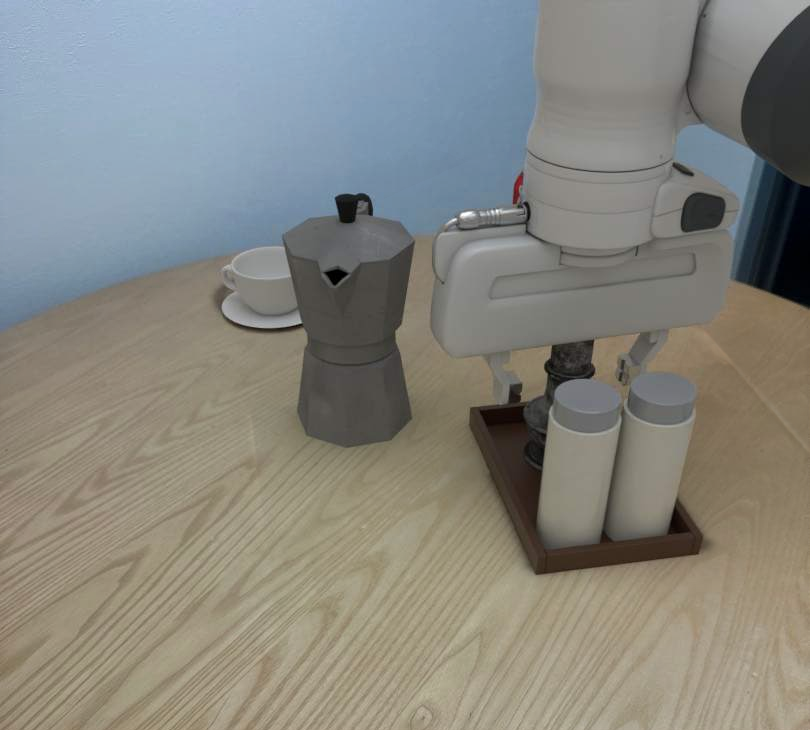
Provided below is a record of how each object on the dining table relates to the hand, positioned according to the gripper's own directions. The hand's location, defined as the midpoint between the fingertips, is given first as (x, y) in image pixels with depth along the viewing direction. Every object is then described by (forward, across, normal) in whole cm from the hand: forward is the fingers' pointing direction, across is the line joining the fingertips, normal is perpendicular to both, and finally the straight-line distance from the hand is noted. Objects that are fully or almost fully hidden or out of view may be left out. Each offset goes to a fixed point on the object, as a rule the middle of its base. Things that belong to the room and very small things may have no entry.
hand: (568, 390), depth 67 cm
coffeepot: (+6, -13, +11) cm, 18 cm away
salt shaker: (+6, 0, 0) cm, 6 cm away
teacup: (+6, -16, +31) cm, 36 cm away
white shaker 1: (+6, -3, -9) cm, 11 cm away
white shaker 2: (+6, +2, -10) cm, 11 cm away
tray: (+6, 0, -4) cm, 7 cm away
